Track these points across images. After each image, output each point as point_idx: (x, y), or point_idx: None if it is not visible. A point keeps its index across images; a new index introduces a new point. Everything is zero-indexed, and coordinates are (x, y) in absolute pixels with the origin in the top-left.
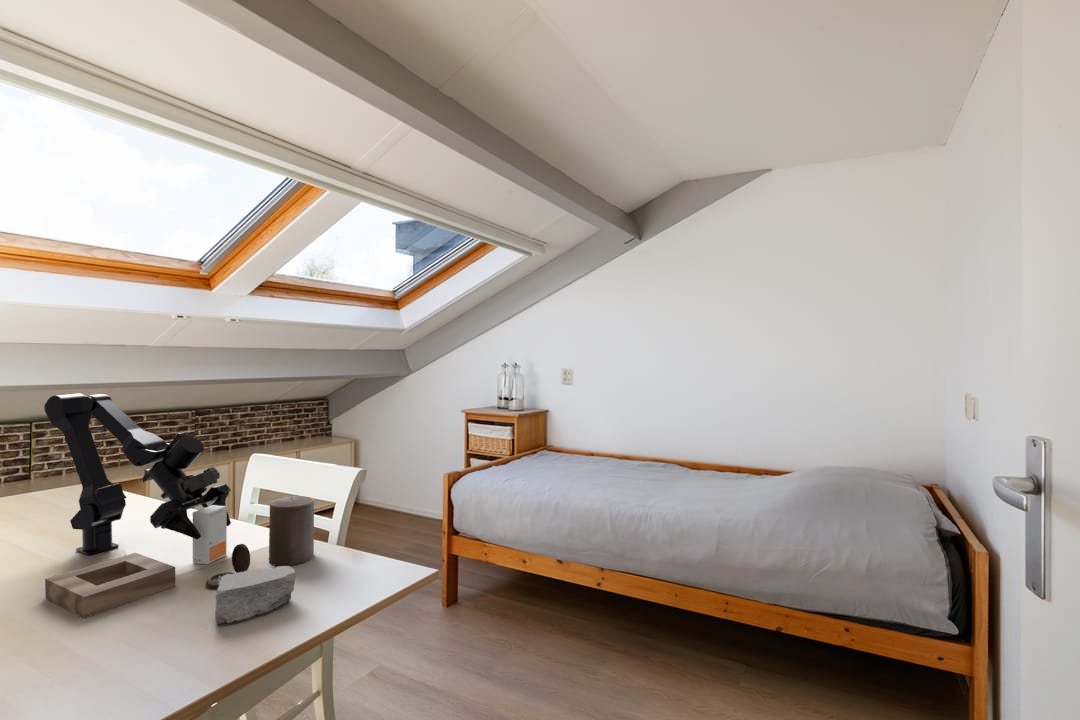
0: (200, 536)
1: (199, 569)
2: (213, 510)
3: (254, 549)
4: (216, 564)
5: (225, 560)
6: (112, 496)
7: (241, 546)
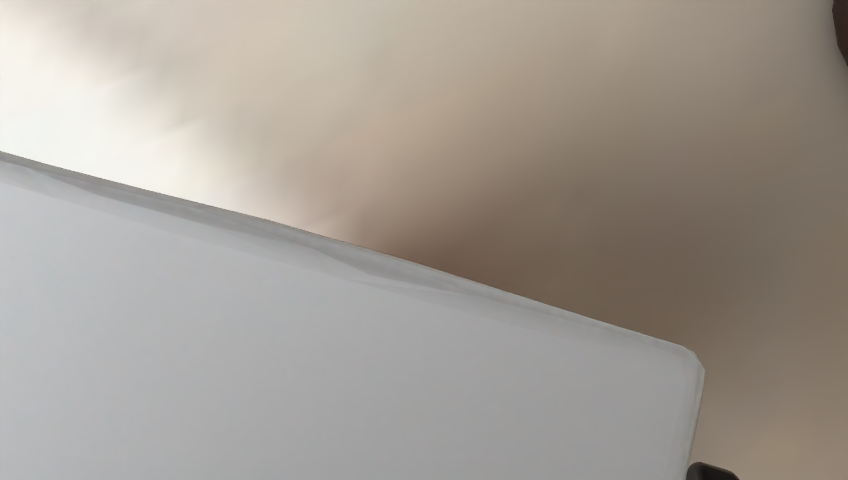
0: (707, 465)
1: None
2: (220, 305)
3: (110, 97)
4: None
5: None
6: None
7: None
